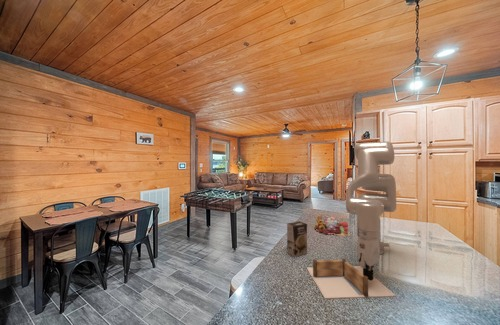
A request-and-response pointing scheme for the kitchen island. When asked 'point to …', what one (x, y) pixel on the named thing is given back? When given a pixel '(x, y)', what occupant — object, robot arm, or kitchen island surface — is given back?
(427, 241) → the kitchen island surface
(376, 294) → the card
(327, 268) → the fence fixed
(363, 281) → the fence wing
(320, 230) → the plate of food
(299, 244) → the coffee box
